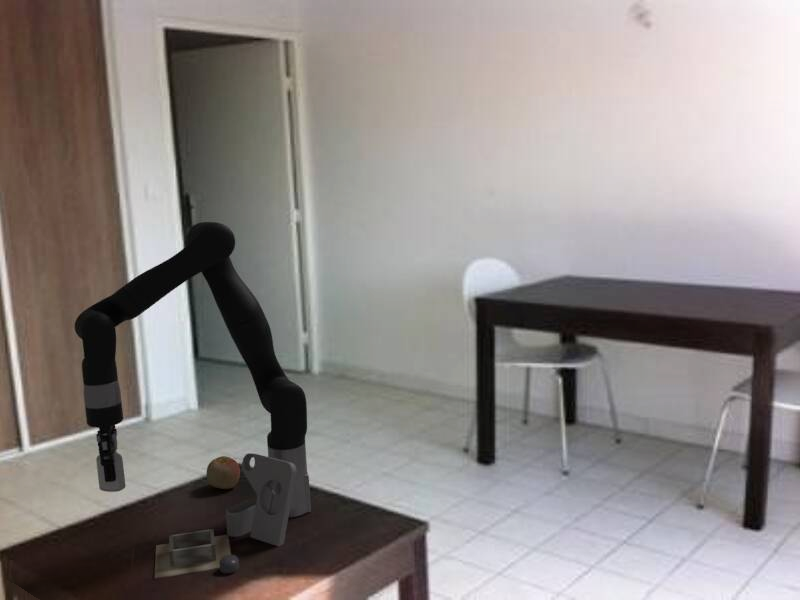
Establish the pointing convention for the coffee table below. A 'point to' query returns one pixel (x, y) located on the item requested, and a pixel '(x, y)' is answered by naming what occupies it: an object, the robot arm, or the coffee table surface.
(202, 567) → the glass box on tray
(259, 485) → the phone holder
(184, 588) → the coffee table surface
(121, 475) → the eye dropper bottle
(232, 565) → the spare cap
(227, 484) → the apple
